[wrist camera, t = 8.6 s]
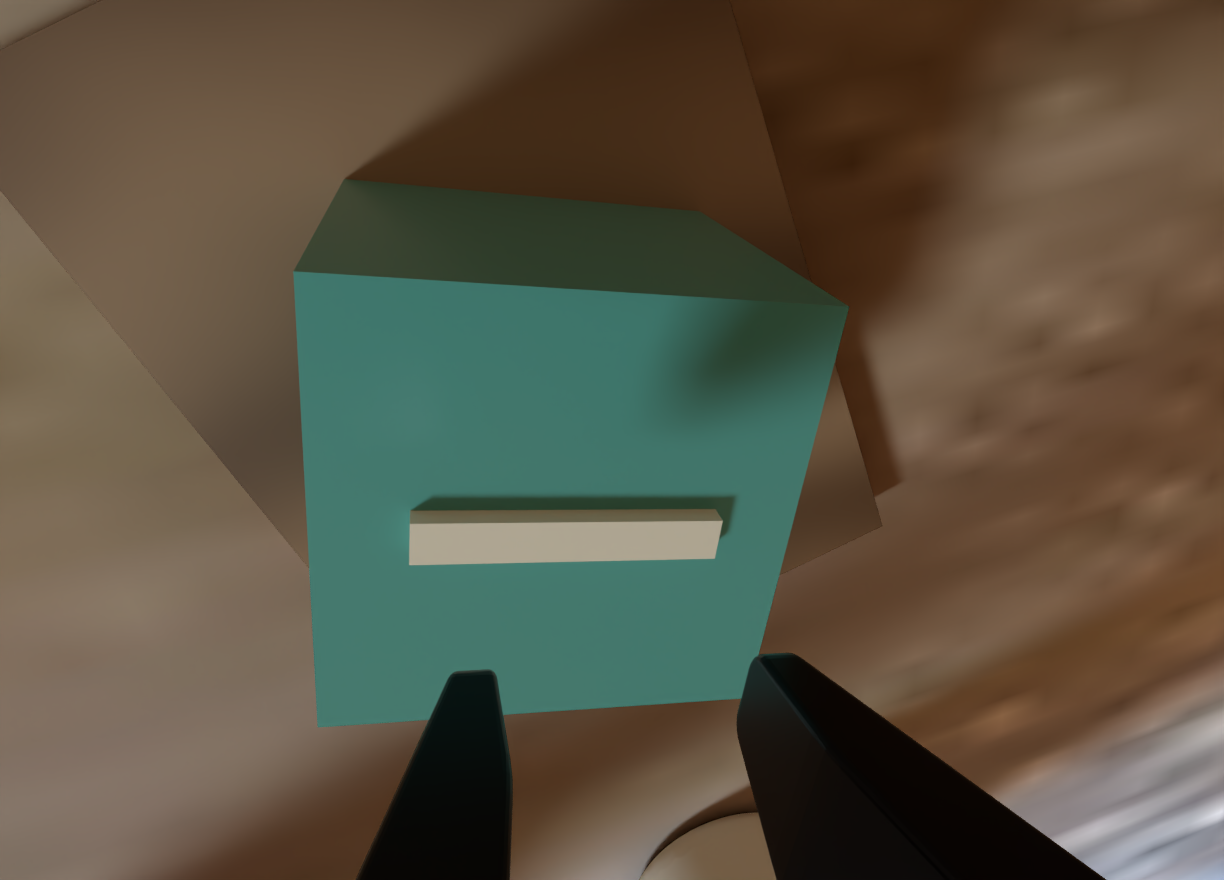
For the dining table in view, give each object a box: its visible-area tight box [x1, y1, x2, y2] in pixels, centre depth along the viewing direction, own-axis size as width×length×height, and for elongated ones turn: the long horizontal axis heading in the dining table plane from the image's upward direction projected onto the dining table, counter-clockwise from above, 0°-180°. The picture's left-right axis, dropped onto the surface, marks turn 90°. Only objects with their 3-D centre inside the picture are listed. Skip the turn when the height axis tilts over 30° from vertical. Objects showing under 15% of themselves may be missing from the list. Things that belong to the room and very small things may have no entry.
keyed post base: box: [0, 0, 882, 575], centre depth 14 cm, size 16×12×5 cm
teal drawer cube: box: [293, 179, 849, 727], centre depth 13 cm, size 6×6×6 cm
